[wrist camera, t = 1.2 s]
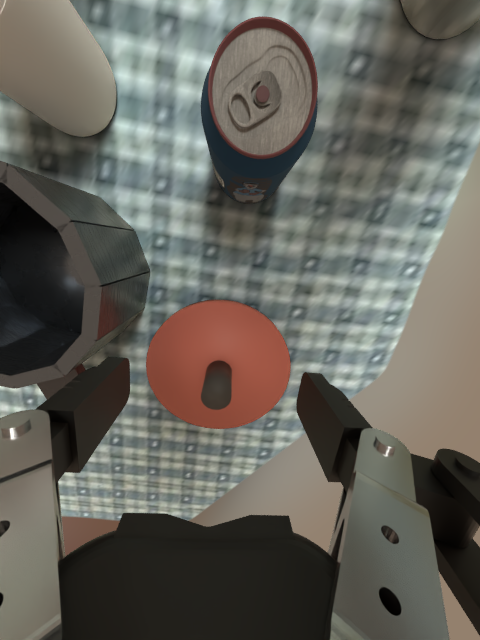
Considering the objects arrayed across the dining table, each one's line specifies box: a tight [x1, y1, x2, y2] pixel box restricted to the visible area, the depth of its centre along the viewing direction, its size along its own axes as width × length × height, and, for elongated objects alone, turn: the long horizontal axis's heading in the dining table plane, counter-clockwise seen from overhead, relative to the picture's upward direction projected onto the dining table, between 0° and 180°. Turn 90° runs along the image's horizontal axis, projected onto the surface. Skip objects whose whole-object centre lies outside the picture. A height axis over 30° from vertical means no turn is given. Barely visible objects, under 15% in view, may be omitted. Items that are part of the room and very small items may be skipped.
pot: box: [0, 161, 150, 400], centre depth 21 cm, size 17×23×10 cm
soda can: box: [201, 17, 318, 204], centre depth 17 cm, size 7×7×12 cm
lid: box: [146, 300, 290, 429], centre depth 27 cm, size 18×18×7 cm
